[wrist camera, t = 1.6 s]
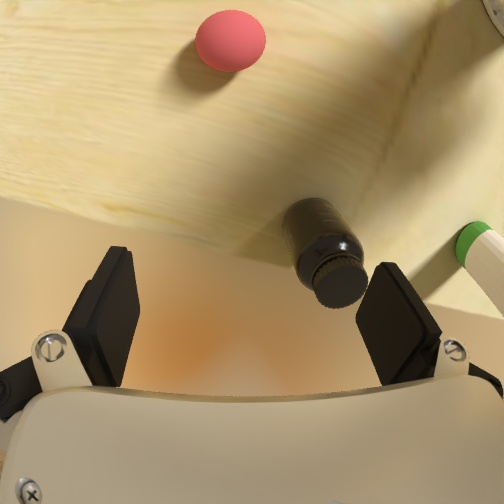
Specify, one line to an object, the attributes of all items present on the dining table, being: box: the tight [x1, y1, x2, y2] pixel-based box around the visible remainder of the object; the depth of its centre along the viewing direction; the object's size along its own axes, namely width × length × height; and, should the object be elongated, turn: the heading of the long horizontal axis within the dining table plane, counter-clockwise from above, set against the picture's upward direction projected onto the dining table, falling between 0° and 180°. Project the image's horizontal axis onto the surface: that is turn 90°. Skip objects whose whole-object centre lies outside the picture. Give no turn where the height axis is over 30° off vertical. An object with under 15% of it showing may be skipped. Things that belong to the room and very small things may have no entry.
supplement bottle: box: [283, 198, 368, 309], centre depth 29 cm, size 7×7×12 cm
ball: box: [195, 10, 266, 72], centre depth 20 cm, size 6×6×6 cm
